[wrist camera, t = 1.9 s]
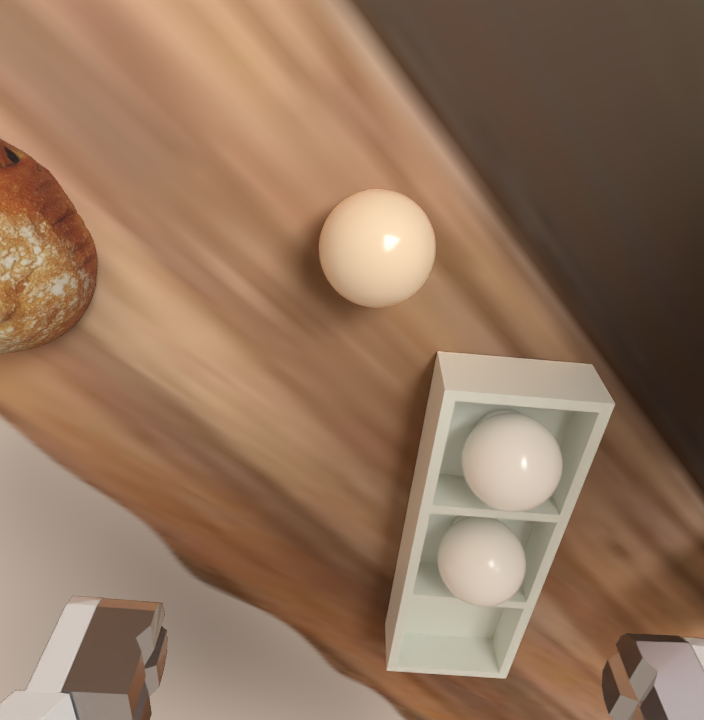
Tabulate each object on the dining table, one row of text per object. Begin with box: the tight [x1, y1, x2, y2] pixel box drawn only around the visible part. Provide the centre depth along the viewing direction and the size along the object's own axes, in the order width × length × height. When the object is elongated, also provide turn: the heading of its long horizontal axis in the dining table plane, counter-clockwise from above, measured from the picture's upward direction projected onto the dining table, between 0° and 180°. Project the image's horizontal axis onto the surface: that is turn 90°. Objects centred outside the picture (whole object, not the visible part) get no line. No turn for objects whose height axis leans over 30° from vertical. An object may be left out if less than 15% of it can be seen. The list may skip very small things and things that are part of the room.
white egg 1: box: [461, 409, 563, 512], centre depth 31 cm, size 5×5×5 cm
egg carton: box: [385, 351, 615, 679], centre depth 37 cm, size 8×23×4 cm, turn 175°
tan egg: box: [319, 189, 436, 308], centre depth 26 cm, size 5×5×5 cm
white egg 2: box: [437, 515, 526, 607], centre depth 35 cm, size 5×5×5 cm
